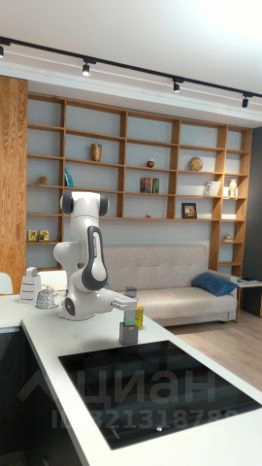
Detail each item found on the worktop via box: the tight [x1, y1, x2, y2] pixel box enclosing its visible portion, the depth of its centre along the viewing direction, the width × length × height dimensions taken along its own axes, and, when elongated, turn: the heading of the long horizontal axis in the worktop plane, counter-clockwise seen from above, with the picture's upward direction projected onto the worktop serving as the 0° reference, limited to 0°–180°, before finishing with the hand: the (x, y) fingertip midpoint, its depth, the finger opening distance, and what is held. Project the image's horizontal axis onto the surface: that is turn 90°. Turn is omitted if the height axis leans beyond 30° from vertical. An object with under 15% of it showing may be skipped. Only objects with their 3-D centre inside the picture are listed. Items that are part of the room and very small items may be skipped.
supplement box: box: [135, 305, 145, 331], centre depth 169 cm, size 6×6×11 cm
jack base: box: [118, 321, 140, 347], centre depth 149 cm, size 12×14×9 cm
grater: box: [18, 266, 43, 306], centre depth 207 cm, size 10×10×20 cm
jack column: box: [122, 285, 138, 326], centre depth 148 cm, size 4×4×17 cm
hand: (132, 297), depth 149 cm, fingers closed on jack column, 5 cm apart
